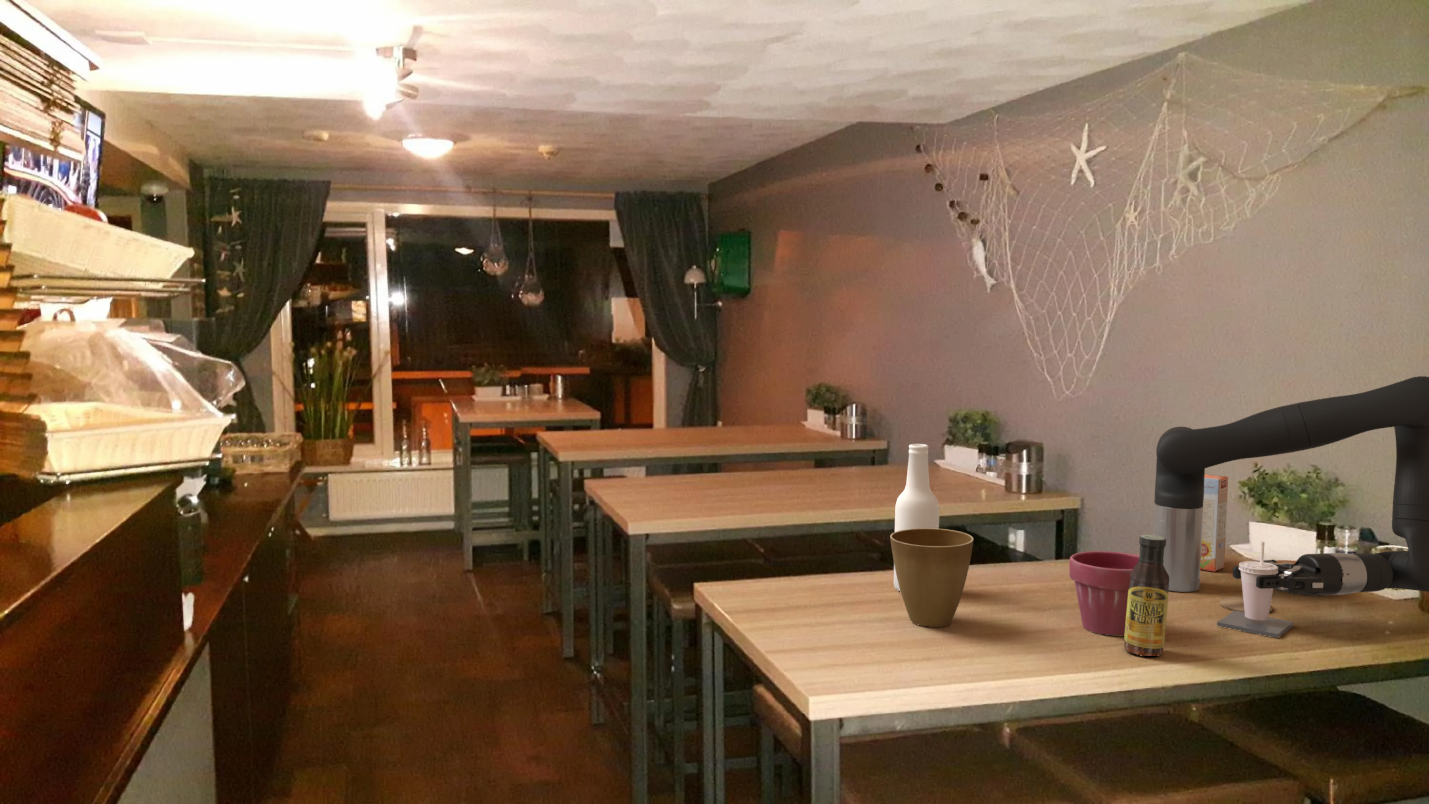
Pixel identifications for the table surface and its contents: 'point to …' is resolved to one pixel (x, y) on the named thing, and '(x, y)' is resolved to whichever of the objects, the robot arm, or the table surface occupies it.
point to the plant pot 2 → (1102, 589)
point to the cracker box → (1214, 522)
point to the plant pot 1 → (931, 572)
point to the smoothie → (1253, 596)
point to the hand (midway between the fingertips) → (1245, 577)
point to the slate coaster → (1255, 624)
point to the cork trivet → (1235, 604)
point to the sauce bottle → (1147, 600)
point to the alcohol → (916, 497)
